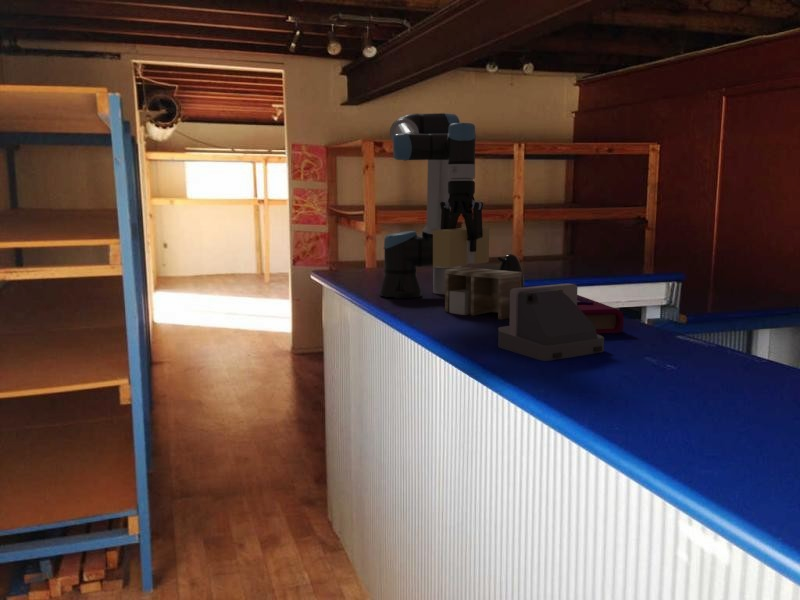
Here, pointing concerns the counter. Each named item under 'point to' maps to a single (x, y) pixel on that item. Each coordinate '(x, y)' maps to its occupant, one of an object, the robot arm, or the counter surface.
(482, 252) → the box
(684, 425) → the counter surface
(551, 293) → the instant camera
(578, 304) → the book
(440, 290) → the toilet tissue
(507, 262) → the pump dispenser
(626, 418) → the counter surface
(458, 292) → the box
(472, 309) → the shelf unit
